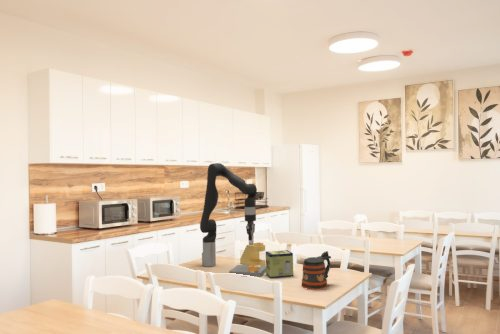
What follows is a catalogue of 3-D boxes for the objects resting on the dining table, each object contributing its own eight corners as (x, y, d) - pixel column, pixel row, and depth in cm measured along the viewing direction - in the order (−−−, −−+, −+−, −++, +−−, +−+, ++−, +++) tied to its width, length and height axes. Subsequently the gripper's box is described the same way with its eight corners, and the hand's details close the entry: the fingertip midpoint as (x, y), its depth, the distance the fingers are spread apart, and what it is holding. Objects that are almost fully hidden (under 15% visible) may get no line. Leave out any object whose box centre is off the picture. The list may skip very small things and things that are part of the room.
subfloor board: (229, 276, 274) (229, 271, 274) (237, 269, 292) (237, 264, 292) (260, 277, 268) (260, 272, 268) (267, 270, 287) (267, 265, 287)
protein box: (265, 275, 274) (265, 251, 274) (288, 273, 278) (287, 249, 278) (270, 279, 264) (269, 254, 264) (293, 277, 267) (293, 252, 268)
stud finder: (248, 271, 271) (247, 266, 271) (249, 269, 275) (249, 265, 275) (257, 271, 270) (257, 266, 270) (258, 270, 274) (258, 265, 274)
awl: (248, 244, 279) (247, 229, 280) (249, 244, 282) (249, 229, 283) (252, 244, 278) (252, 229, 279) (254, 244, 282) (253, 229, 282)
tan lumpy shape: (268, 265, 301) (267, 243, 301) (258, 268, 295) (258, 245, 295) (249, 261, 316) (249, 240, 316) (240, 263, 310) (239, 241, 310)
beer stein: (320, 281, 256) (319, 248, 256) (338, 287, 244) (337, 252, 244) (296, 287, 245) (295, 252, 245) (313, 293, 233) (313, 256, 233)
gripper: (252, 214, 273) (253, 241, 273) (258, 212, 287) (259, 238, 286) (241, 214, 275) (242, 241, 275) (247, 212, 289) (248, 238, 288)
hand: (251, 239), depth 281 cm, fingers closed on awl, 3 cm apart
